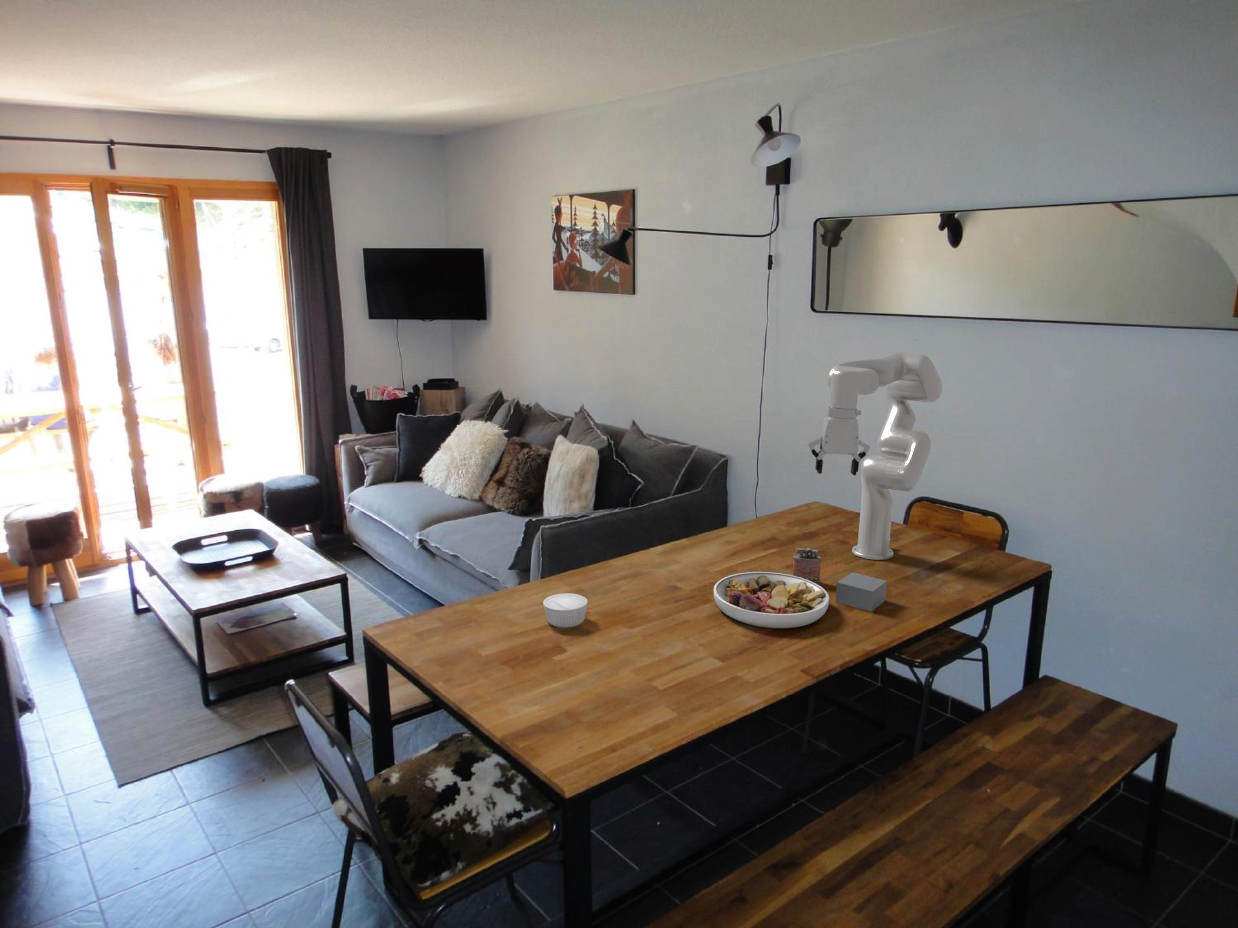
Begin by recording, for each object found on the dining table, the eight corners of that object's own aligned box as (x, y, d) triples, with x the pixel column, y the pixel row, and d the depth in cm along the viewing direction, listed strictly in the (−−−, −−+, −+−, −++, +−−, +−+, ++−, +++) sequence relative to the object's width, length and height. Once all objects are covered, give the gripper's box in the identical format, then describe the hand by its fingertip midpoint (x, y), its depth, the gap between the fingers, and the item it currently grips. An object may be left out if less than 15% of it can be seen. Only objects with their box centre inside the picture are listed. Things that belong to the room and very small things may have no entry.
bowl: (744, 580, 244) (746, 554, 242) (844, 605, 227) (847, 577, 225) (692, 613, 220) (693, 585, 218) (799, 644, 203) (801, 613, 201)
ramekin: (535, 625, 211) (535, 605, 210) (555, 608, 221) (555, 590, 220) (576, 632, 207) (576, 612, 206) (594, 615, 217) (594, 596, 216)
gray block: (850, 592, 236) (852, 572, 234) (885, 601, 230) (887, 580, 228) (835, 603, 228) (837, 582, 226) (871, 612, 222) (872, 591, 220)
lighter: (819, 580, 244) (821, 547, 241) (820, 584, 240) (823, 551, 238) (790, 578, 244) (793, 546, 242) (792, 583, 241) (794, 550, 239)
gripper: (869, 413, 238) (863, 472, 242) (808, 410, 238) (803, 469, 242) (876, 417, 231) (870, 477, 234) (813, 414, 231) (808, 475, 234)
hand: (836, 473), depth 238 cm, fingers open, 9 cm apart
